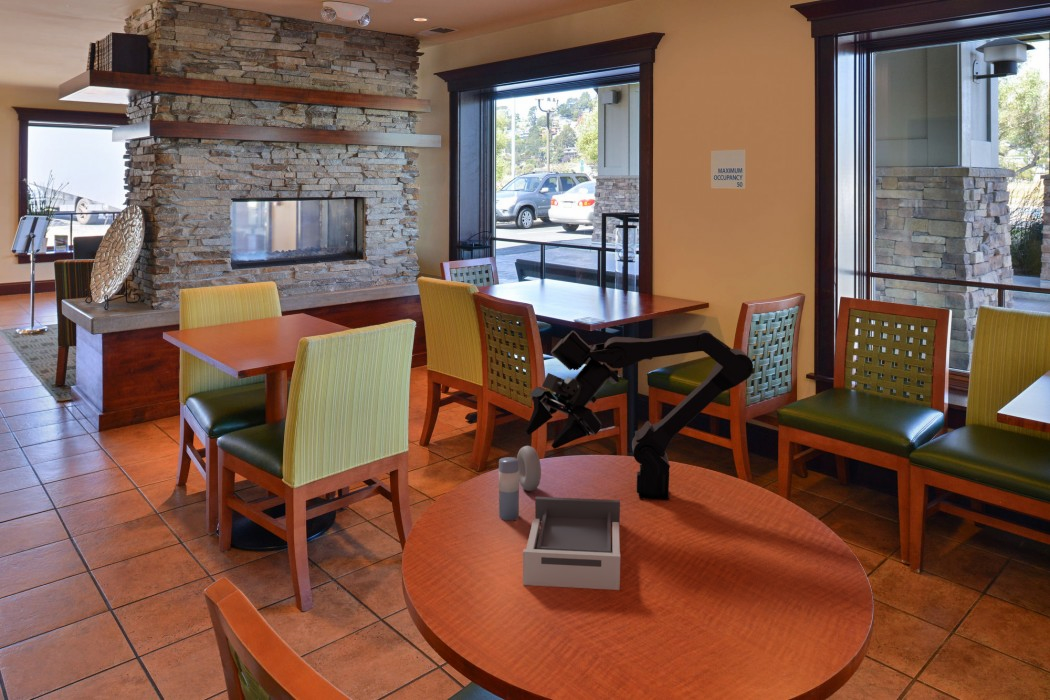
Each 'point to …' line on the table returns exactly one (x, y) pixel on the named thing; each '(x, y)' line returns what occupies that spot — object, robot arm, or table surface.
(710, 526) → the table surface
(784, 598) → the table surface
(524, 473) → the donut
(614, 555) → the dock
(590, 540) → the tray
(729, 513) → the table surface
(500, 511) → the canister
